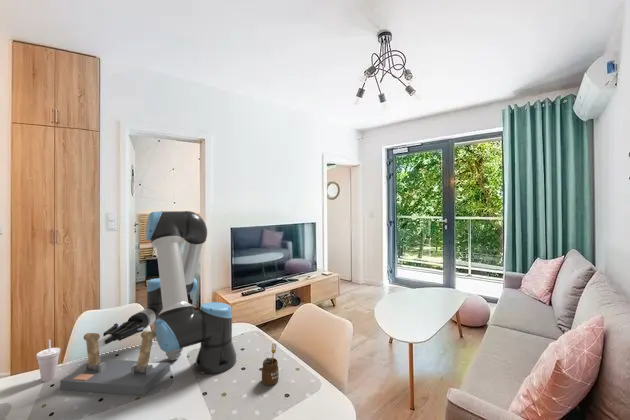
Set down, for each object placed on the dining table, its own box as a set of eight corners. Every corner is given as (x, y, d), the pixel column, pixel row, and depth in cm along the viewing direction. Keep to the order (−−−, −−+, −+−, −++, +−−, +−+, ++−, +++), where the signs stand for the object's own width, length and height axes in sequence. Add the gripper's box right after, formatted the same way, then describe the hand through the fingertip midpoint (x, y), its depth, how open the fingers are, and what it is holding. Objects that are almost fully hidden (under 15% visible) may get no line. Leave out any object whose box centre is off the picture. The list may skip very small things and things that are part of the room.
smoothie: (45, 385, 98) (45, 344, 98) (31, 383, 100) (30, 343, 99) (65, 374, 105) (65, 336, 104) (51, 372, 106) (51, 334, 106)
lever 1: (104, 367, 104) (101, 332, 102) (99, 371, 101) (95, 335, 100) (91, 366, 104) (87, 331, 102) (85, 370, 102) (81, 335, 100)
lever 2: (150, 372, 101) (158, 331, 105) (146, 373, 99) (154, 331, 103) (136, 371, 102) (144, 330, 106) (131, 372, 100) (140, 331, 104)
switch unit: (169, 370, 107) (169, 356, 107) (144, 395, 93) (144, 378, 93) (96, 366, 110) (96, 352, 110) (60, 389, 96) (60, 373, 96)
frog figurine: (179, 363, 112) (179, 346, 112) (161, 363, 113) (161, 345, 113) (186, 355, 118) (186, 338, 118) (170, 355, 119) (170, 338, 119)
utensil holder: (258, 384, 99) (258, 350, 99) (267, 374, 105) (267, 342, 105) (273, 387, 98) (274, 352, 97) (281, 377, 104) (281, 344, 103)
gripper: (155, 329, 126) (111, 357, 102) (127, 328, 127) (78, 355, 104) (155, 312, 126) (111, 336, 102) (127, 311, 127) (78, 334, 104)
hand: (95, 346), depth 103 cm, fingers closed
